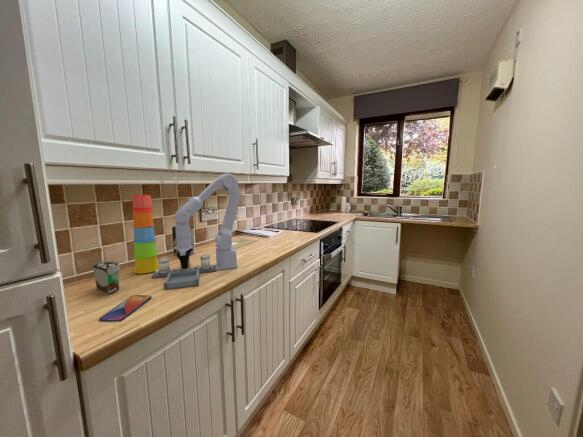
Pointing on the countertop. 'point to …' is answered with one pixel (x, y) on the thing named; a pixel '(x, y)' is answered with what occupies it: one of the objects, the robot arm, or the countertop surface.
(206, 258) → the cylinder
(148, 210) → the stacking cups
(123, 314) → the smartphone
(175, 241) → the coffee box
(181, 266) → the marked fuse
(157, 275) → the board
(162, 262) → the ball
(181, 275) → the tray
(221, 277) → the countertop surface
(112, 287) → the food container
